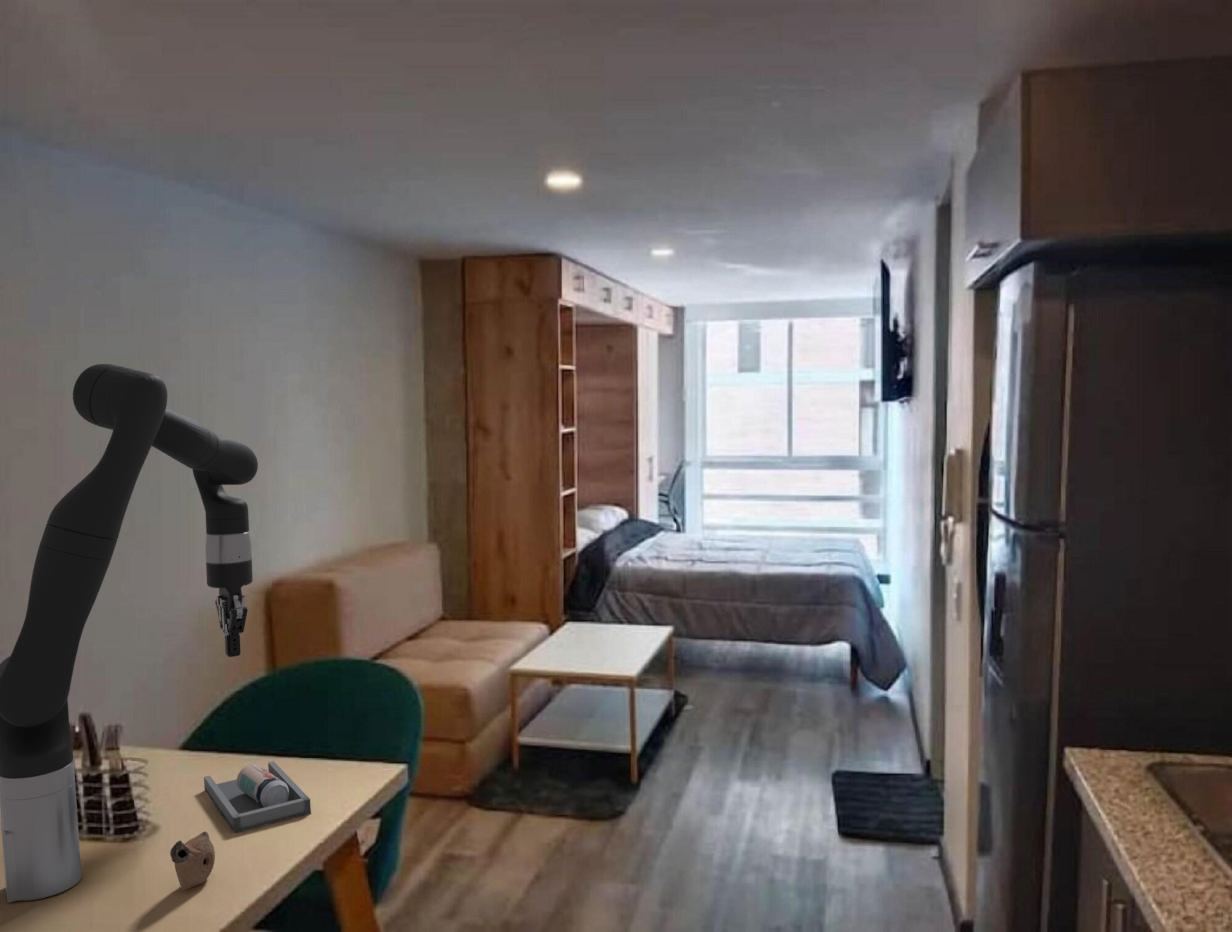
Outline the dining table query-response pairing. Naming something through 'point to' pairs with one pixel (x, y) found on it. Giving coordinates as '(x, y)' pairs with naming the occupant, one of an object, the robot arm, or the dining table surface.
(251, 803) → the tray
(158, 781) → the dining table surface
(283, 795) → the beer can
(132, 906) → the dining table surface
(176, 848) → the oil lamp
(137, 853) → the dining table surface
